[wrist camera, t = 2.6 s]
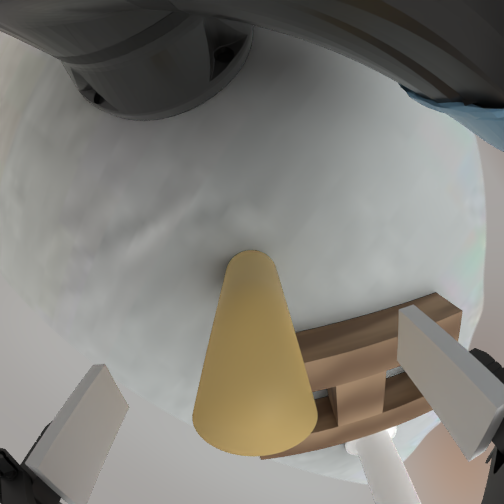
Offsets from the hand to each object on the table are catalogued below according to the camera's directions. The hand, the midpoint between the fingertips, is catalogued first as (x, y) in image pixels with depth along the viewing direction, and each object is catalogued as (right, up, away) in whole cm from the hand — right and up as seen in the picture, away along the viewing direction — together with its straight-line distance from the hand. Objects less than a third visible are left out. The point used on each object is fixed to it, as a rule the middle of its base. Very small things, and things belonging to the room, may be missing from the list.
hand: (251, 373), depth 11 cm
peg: (0, +3, +11) cm, 12 cm away
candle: (+15, -18, +17) cm, 29 cm away
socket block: (+9, -7, +14) cm, 18 cm away
